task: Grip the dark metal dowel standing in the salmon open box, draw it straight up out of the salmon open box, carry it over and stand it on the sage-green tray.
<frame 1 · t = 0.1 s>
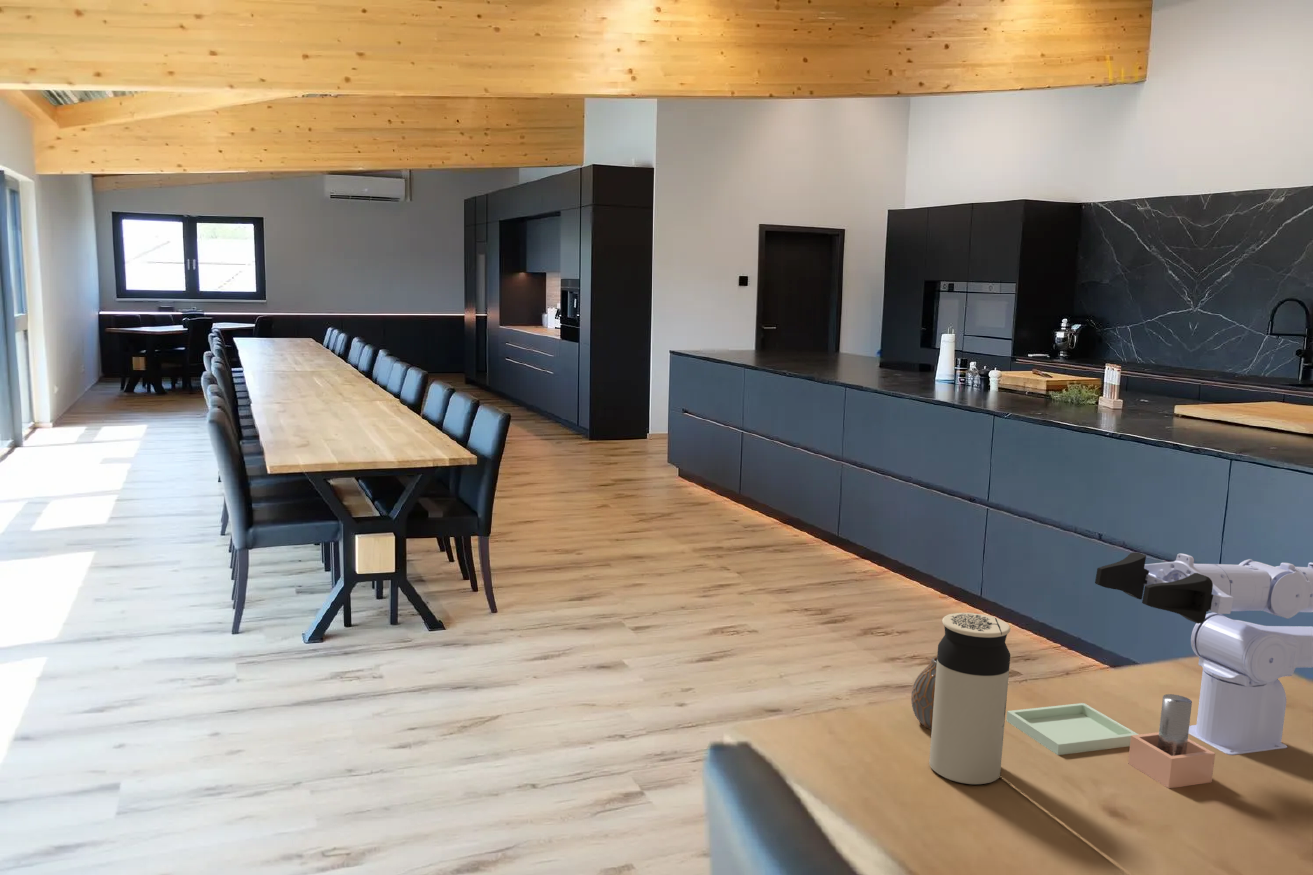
hand: (1121, 585, 119), 22 cm above the table, tool horizontal, fingers open, 7 cm apart
dowel: (1169, 772, 117), resting on salmon open box
travel mug: (964, 771, 117), on the table
salmon open box: (1168, 776, 117), on the table
tray: (1070, 735, 127), on the table
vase: (936, 726, 130), on the table
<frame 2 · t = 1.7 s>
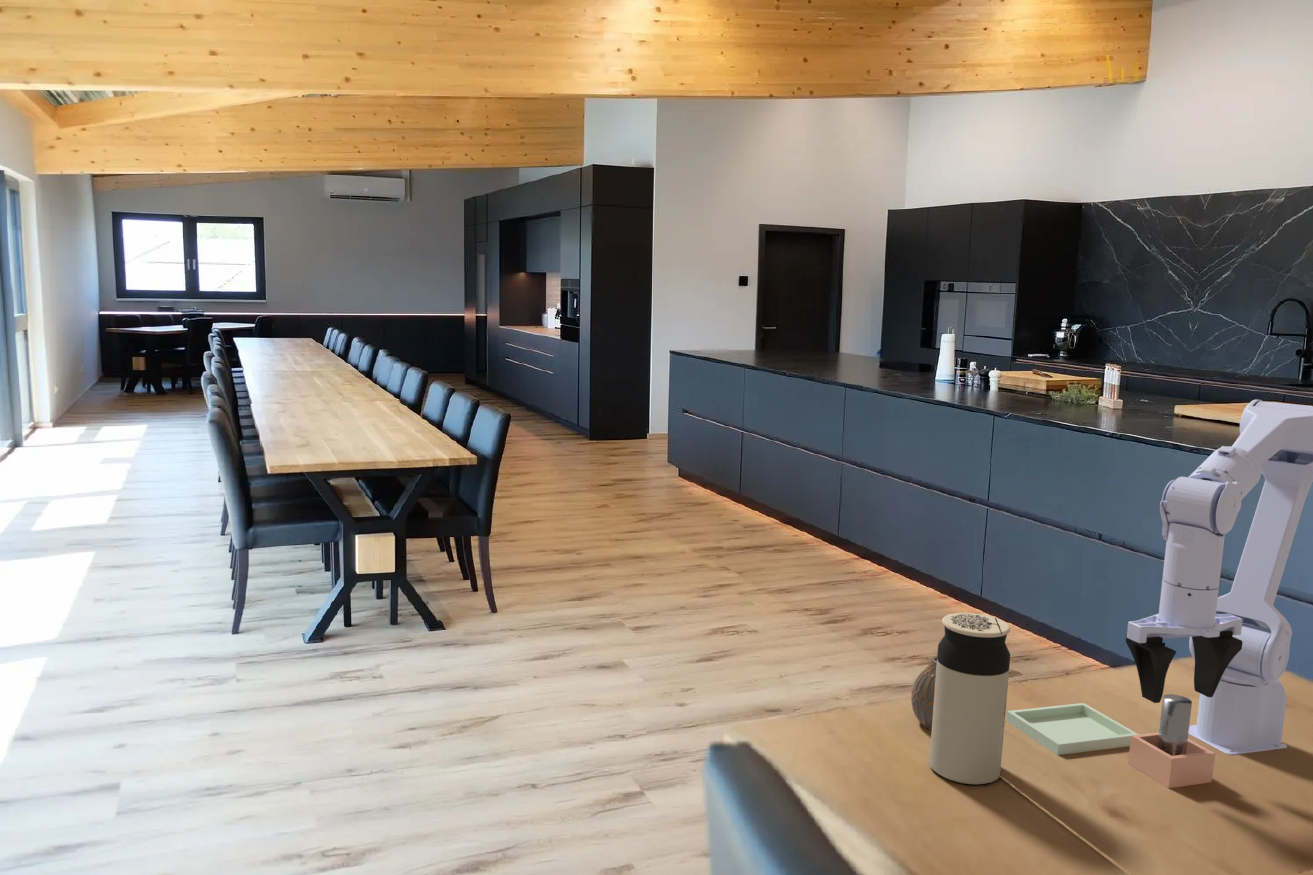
hand: (1177, 696, 116), 10 cm above the table, tool pointing down, fingers open, 7 cm apart
nothing on the table moved.
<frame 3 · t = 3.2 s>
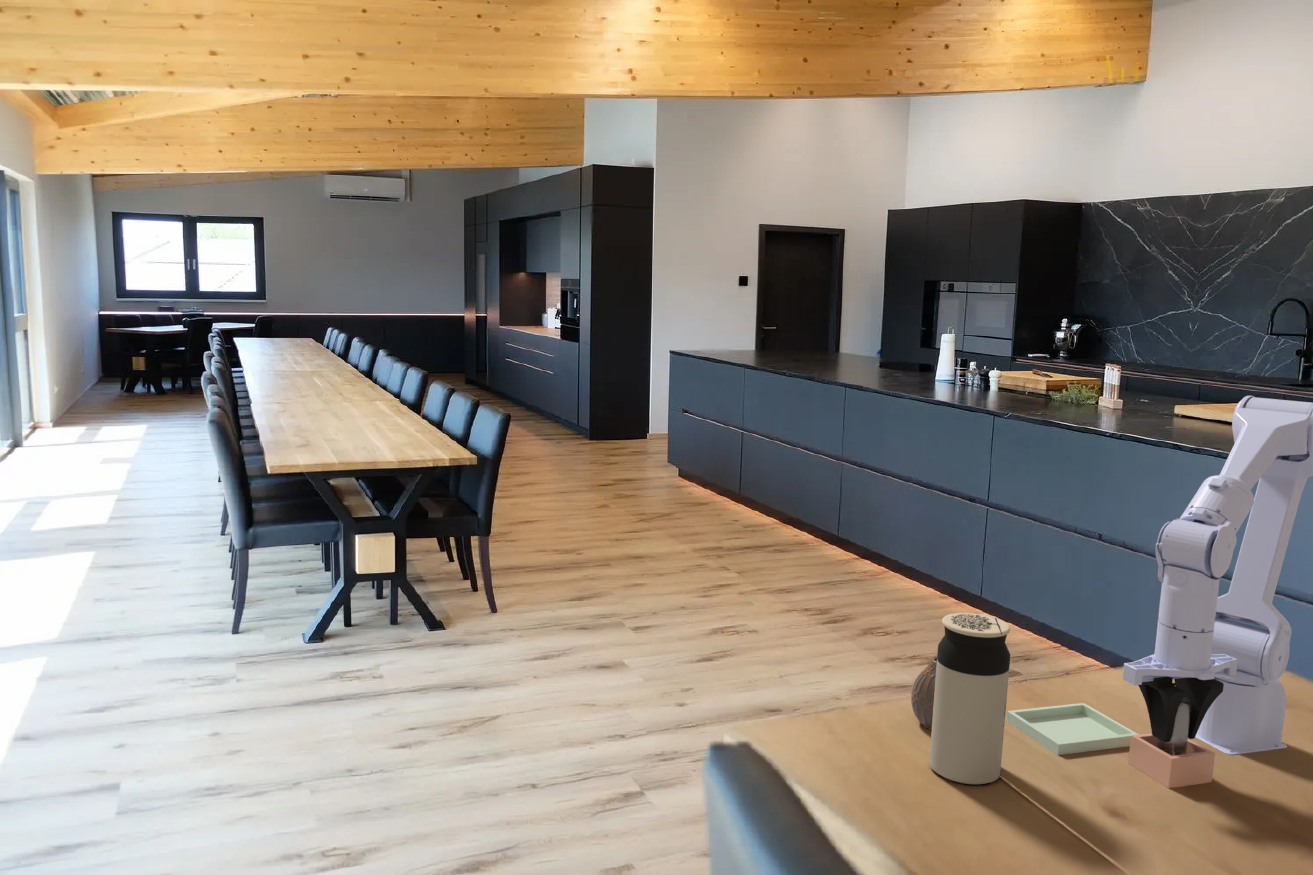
hand: (1173, 736, 117), 5 cm above the table, tool pointing down, fingers closed on dowel, 3 cm apart
dowel: (1169, 772, 117), resting on salmon open box, touching gripper
everything else where it was.
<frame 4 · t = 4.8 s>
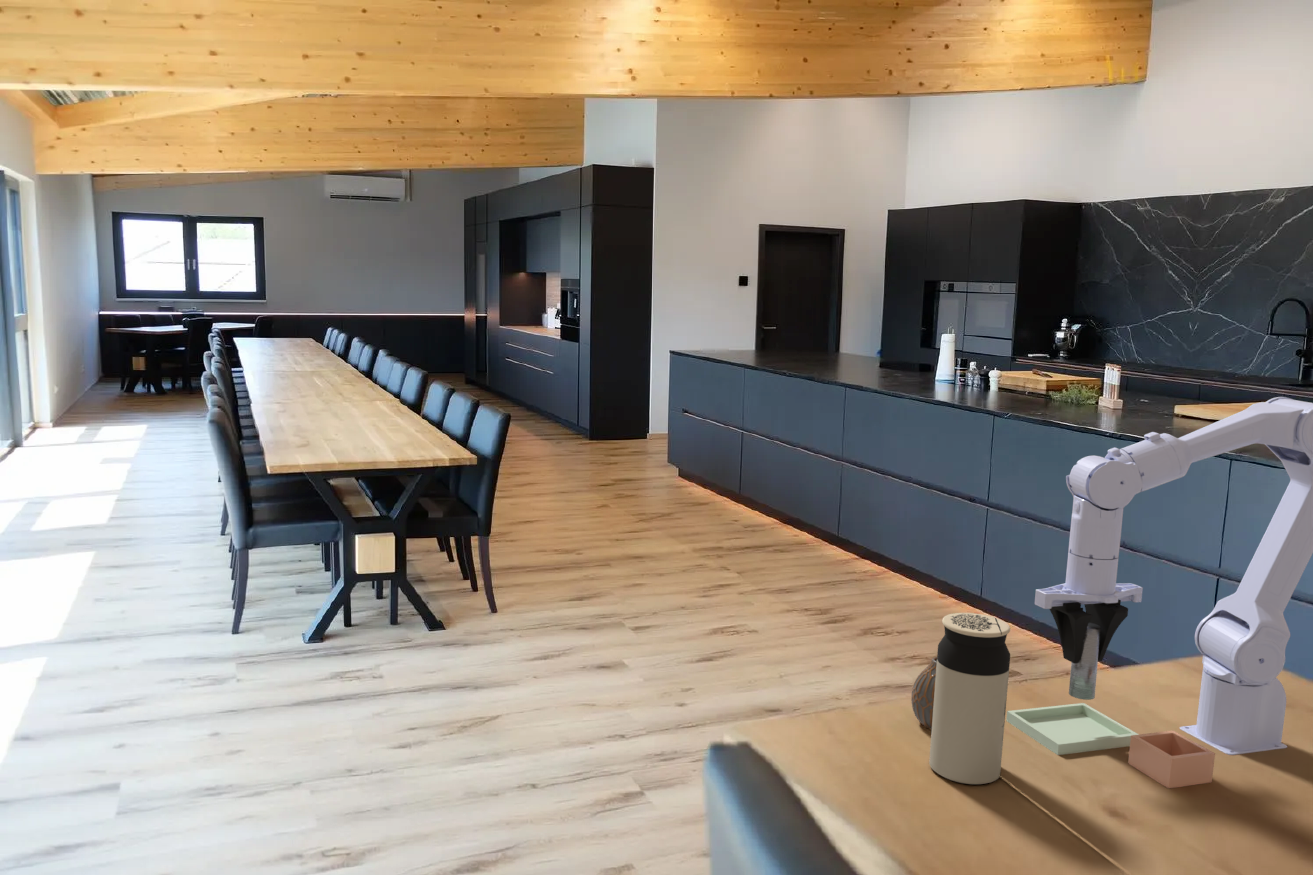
hand: (1082, 659, 125), 10 cm above the table, tool pointing down, fingers closed on dowel, 3 cm apart
dowel: (1081, 695, 126), point 6 cm above the table, touching gripper
everything else where it was.
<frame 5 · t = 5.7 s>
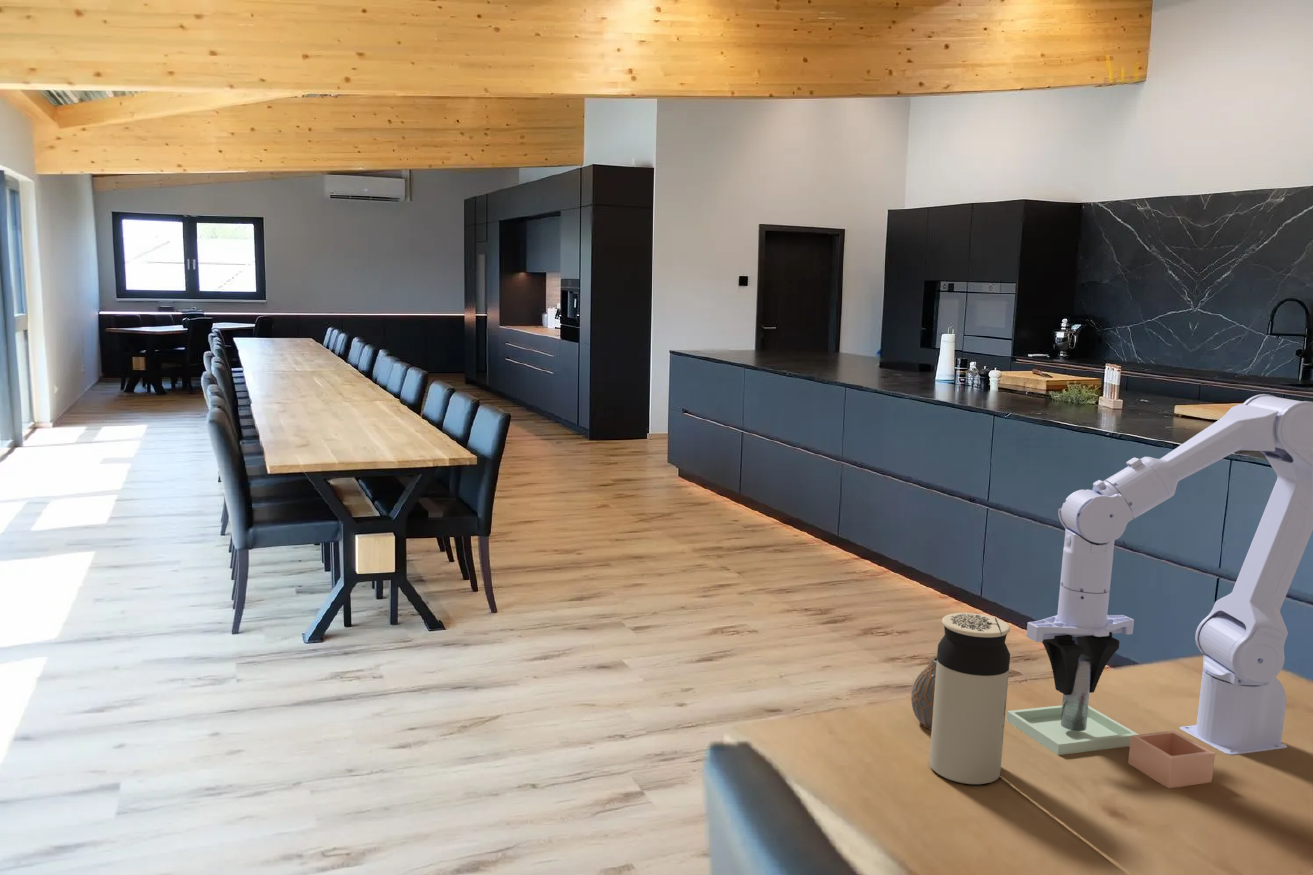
hand: (1074, 690, 127), 6 cm above the table, tool pointing down, fingers closed on dowel, 3 cm apart
dowel: (1073, 725, 127), point 1 cm above the table, touching gripper
everything else where it was.
when the fingers open (6 cm above the table, at t = 6.5 s): dowel stays where it is, resting on tray.
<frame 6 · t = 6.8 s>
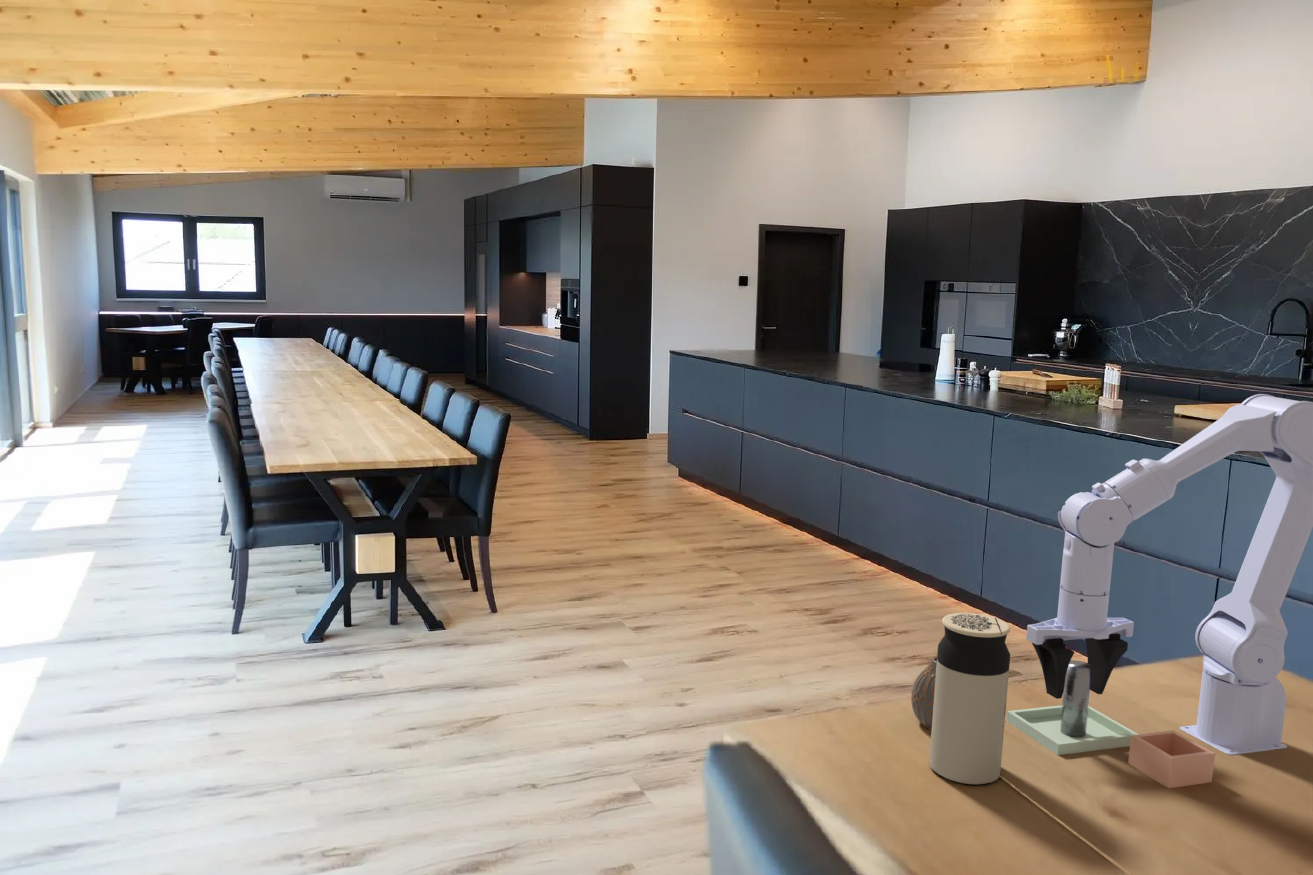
hand: (1074, 693, 127), 6 cm above the table, tool pointing down, fingers open, 6 cm apart
dowel: (1073, 732, 127), point 1 cm above the table, touching tray
everything else where it was.
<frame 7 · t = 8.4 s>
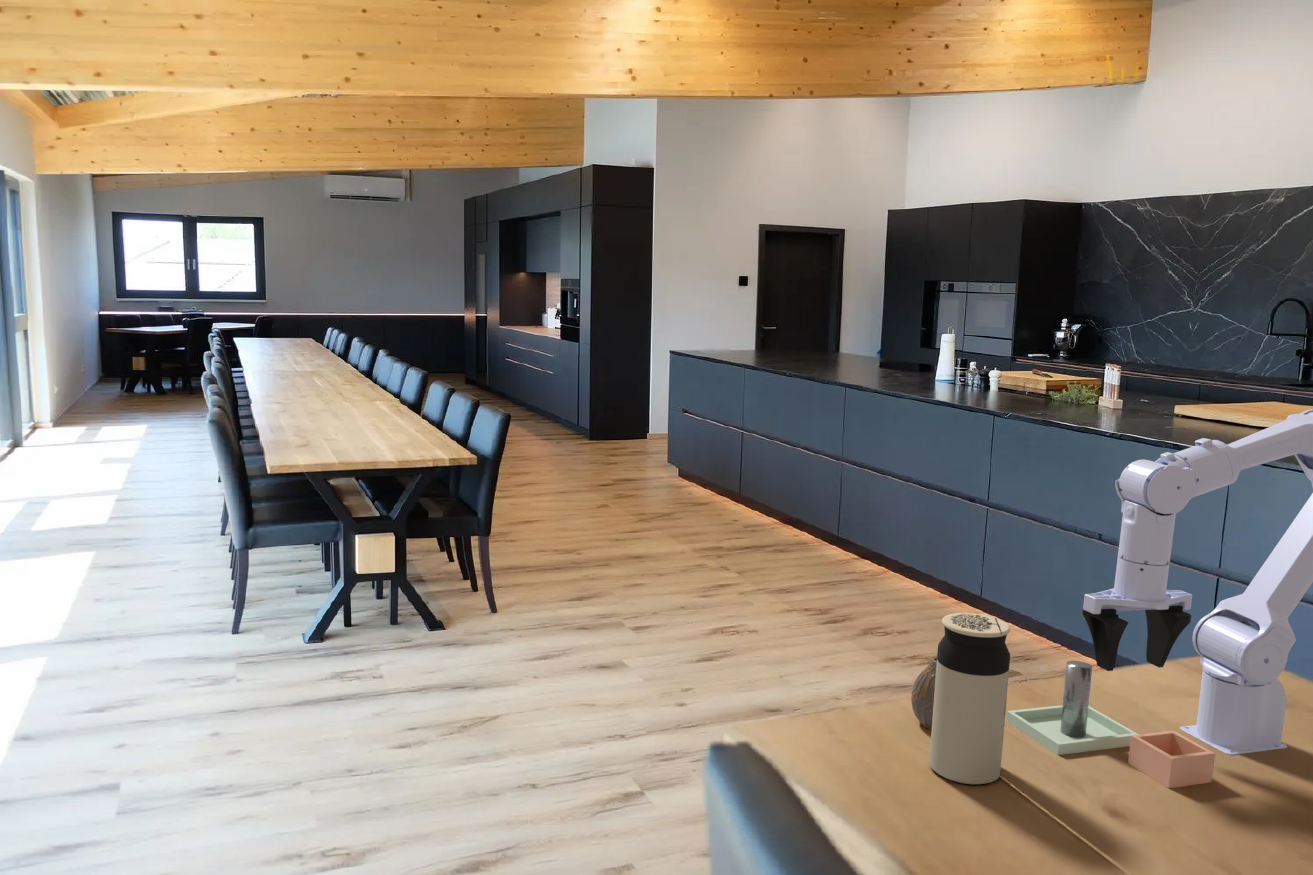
hand: (1130, 666, 124), 10 cm above the table, tool pointing down, fingers open, 7 cm apart
nothing on the table moved.
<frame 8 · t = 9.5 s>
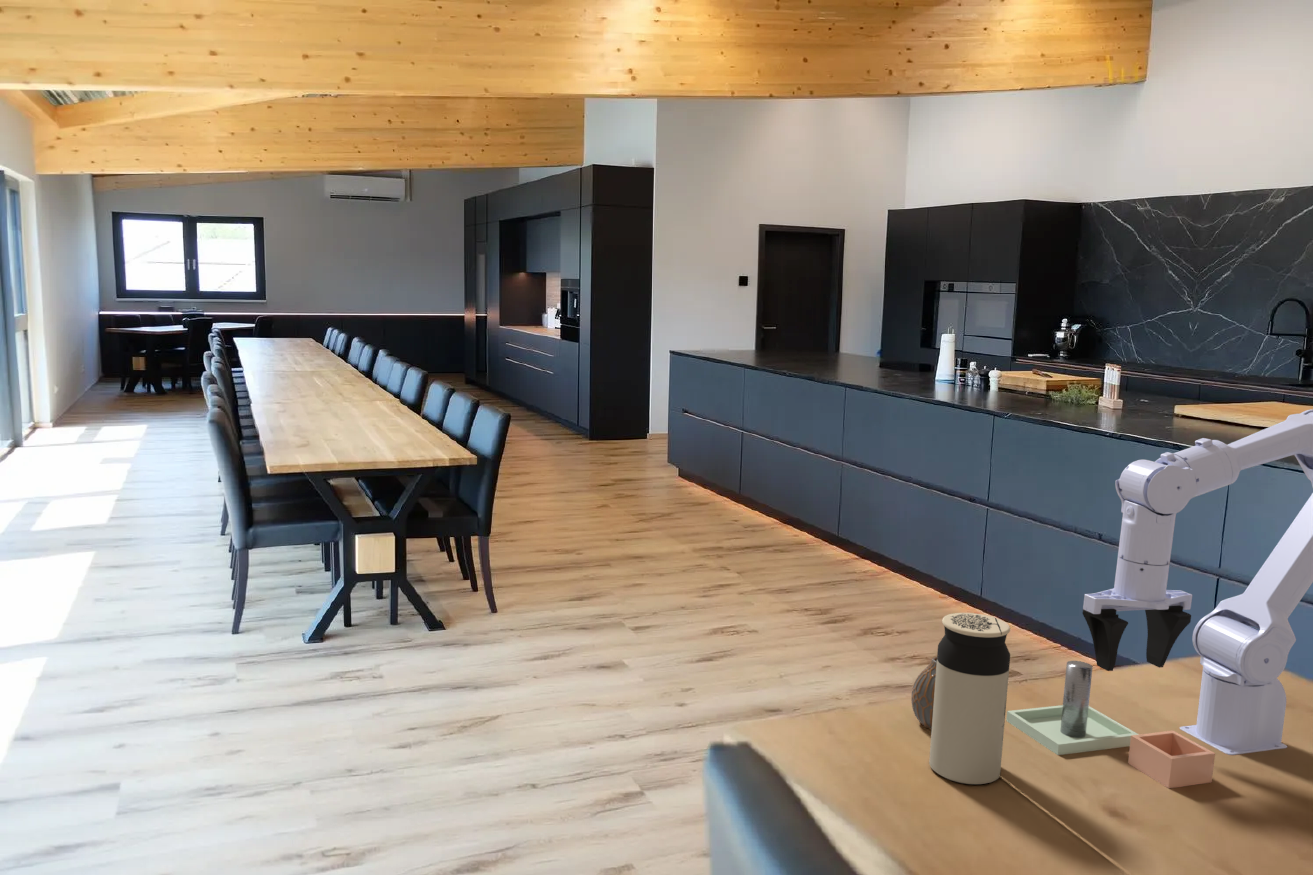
hand: (1130, 666, 124), 10 cm above the table, tool pointing down, fingers open, 7 cm apart
nothing on the table moved.
at the end: dowel inside the target area on the tray (0.4 cm from its centre), point 0.6 cm above the tray's base; dowel tilted 0°; dowel touching tray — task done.
